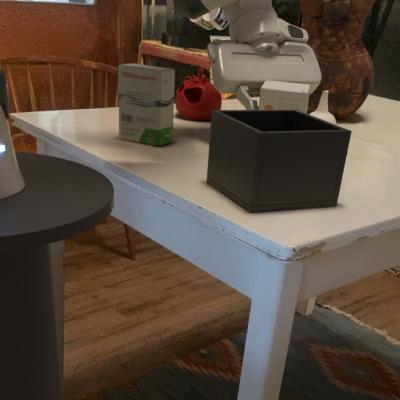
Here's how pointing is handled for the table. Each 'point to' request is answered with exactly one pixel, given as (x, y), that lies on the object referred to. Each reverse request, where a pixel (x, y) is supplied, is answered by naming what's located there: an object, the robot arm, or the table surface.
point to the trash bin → (276, 159)
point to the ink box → (146, 103)
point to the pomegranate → (197, 98)
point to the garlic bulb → (324, 109)
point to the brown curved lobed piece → (339, 53)
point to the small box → (284, 96)
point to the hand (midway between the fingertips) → (277, 112)
